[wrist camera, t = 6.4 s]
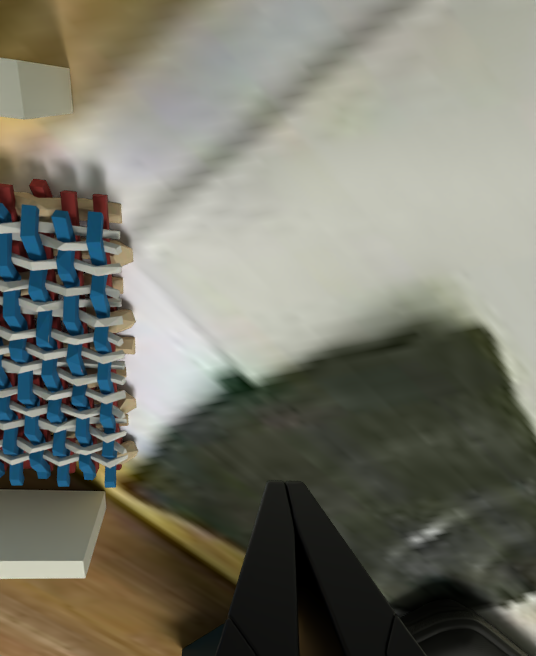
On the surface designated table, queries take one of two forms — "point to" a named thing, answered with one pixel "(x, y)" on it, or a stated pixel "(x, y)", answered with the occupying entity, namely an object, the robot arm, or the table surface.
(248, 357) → the table surface
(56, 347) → the woven mat
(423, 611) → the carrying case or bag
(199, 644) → the watch
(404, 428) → the table surface
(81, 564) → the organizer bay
